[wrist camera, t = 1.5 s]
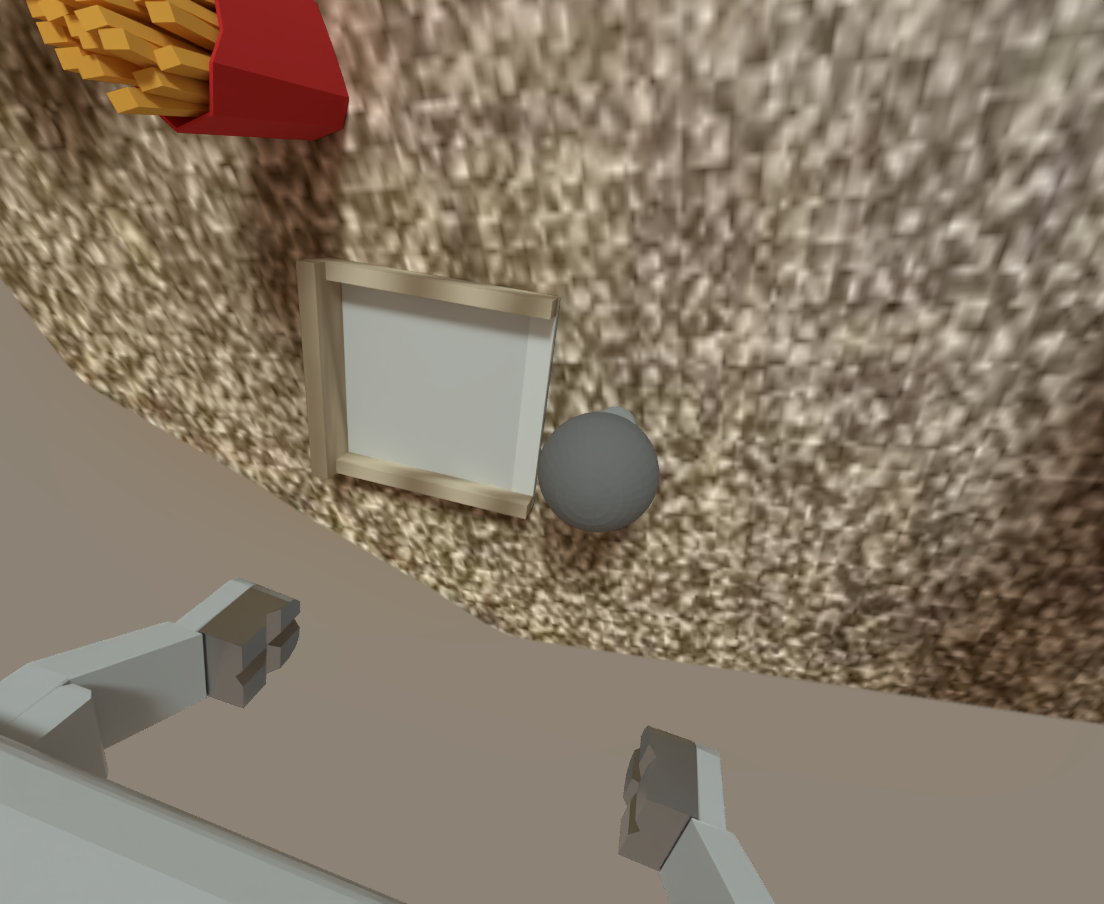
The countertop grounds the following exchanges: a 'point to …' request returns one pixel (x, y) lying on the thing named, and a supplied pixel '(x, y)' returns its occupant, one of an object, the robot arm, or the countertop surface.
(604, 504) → the light bulb
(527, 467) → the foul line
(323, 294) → the tan piece
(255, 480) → the countertop surface
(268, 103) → the french fries
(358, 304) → the white flat square tray
